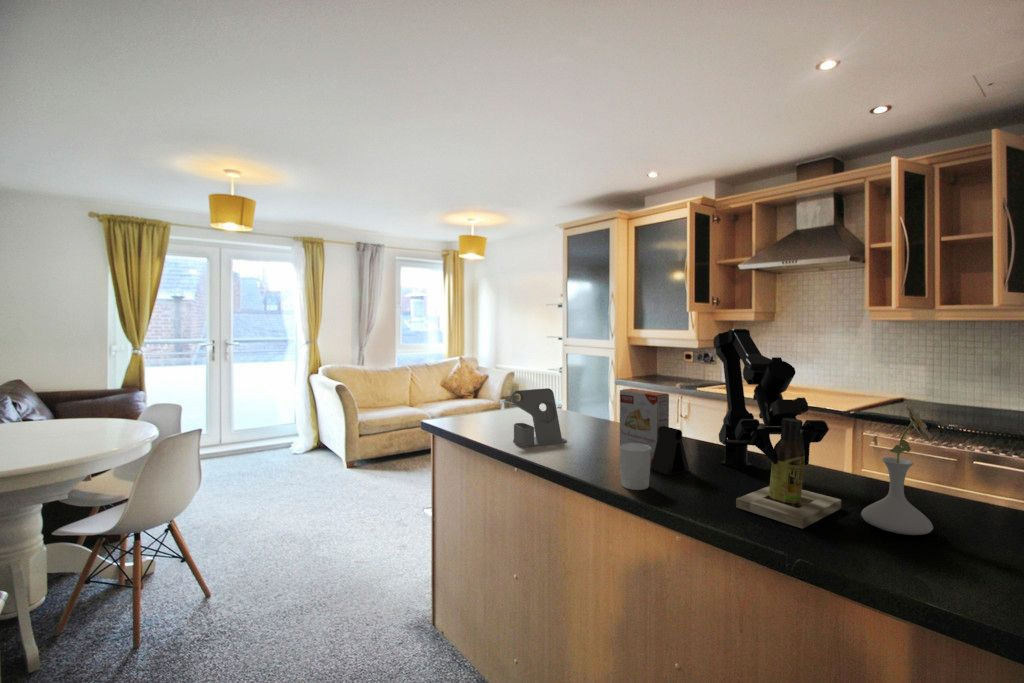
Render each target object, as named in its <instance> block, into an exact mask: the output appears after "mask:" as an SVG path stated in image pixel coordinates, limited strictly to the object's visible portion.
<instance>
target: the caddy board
mask: <svg viewBox="0 0 1024 683" xmlns="http://www.w3.org/2000/svg"><path fill="white" fill-rule="evenodd" d="M769 488H770V485H768V486H766V487H762V488H760V489H757V490H755V491H753V492H750V493H747V494H744V495H743V496H738V497H737V498H736V499H735V508H737V509H739V510H740V509H741V510H744V511H746V512H750V513H753V514H755V515H756V514H757V515H758V516H762V517H765V518H768V519H772V520H773V521H774V520H775V521H778V522H781V523H783V524H786V525H790V526H792V527H797V528H798V529H799V528H800V529H805V528H807V527H808V526H810V525H812V524H815V523H816V522H818V521H820V520H822V519H824V518H826V517H828V516H829V515H831V514H833V513H836V512H837V511H839V510H841V509H842V499H840V498H837V497H832V496H828V495H825V494H821V493H817V492H813V491H809V490H806V489H805V490H804V489H802V493H801V502H800V504H799V508H796V507H792V506H789V505H786V504H782V503H779V502H775V501H772V500H769V498H770V496H769Z"/></svg>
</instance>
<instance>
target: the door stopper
mask: <svg viewBox="0 0 1024 683" xmlns="http://www.w3.org/2000/svg"><path fill="white" fill-rule="evenodd" d="M650 471H652V472H656V473H658V474H662V475H665V476H672V475H677V474H680V473H681V474H682V473H685V472H689V471H690V468H689V463H688V459H687V455H686V451H685V447H684V444H683V431H682V430H681V429H678V428H673V427H670V426H669V427H666V426H663V427H662V426H660V427H659V429H658V440H657V444H656V448H655V452H654V456H653V460H652V464H651V465H650Z"/></svg>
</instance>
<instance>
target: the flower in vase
mask: <svg viewBox="0 0 1024 683" xmlns="http://www.w3.org/2000/svg"><path fill="white" fill-rule="evenodd" d="M905 411H906V414H907V416H908V418H909V419H910V423H909V425H908V426H907V427H906V428H905V430H904V431H903V433H902V435H901V437H900V440H899V443H898V444H896V445H895V446H894V447H893V448H892V449H890V450H889V452H892V453H895V454H897V455H896V457H893V456H891V457H890V456H885V457H882V458H881V460H882V461H883V463H884V464H885V466H886V468H887V471H888V477H889V488H888V489H889V490H888V493H887V495H886V496H885V497H884V498H882V499H879V500H877V501H875V502H873V503H870V504H869V505H867V506H866V507H864V508H862V510H861V512H860V516H861V518H862V519H863V520H864V521H865V522H866V523H867V524H870V525H871V526H874V527H876V528H878V529H880V530H883V531H886V532H889V533H893V534H897V535H898V534H900V535H907V536H921V535H928V534H930V533H931V532H932V531H933V529H934V526H933V523H932V521H930V519H929V518H928V517H927V516H926V515H925V514H923V513H922V512H921V511H920V510H919V509H917V508H916V507H915V506H914V505H912V504H911V502H909V500H907V497H906V495H905V479H906V477H907V472H908V471H909V469H910V468H911V466H913V465H914V462H913V461H912V460H909V459H906V458H901V457H900V454H901V453H904V452H907V453H909V452H911V450H912V448H911V447H910V444H909V442H908V441H907V440H906V439H904V438H905V436H906V435H907V433H908V431H909V430H910V428H911V427H914V428H915V430H916V431H917V432H918V434H919V435H920V437H921V438H922V439H924V440H925V441H927V442H931V441H932V434H931V433H930V432H929V431H928V430H927V428H928V426H927V424H926V423H925V422H923V421H922V418H921V415H920V413H919V411H916V412H915V410H914V406H913V405H912V404H911V403H906V404H905Z"/></svg>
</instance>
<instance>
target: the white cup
mask: <svg viewBox="0 0 1024 683" xmlns="http://www.w3.org/2000/svg"><path fill="white" fill-rule="evenodd" d="M618 448H619V450H618V451H619V452H618V453H619V470H620V472H619V473H620V479H621V480H620V485H621V486H622V487H623V488H625V489H628V490H632V491H642V490H647V489H648V488H650V475H651V470H650V468H651V465H650V463H651V447H650V446H648V445H644V444H638V443H626V444H621V445H620V444H619V445H618Z"/></svg>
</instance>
